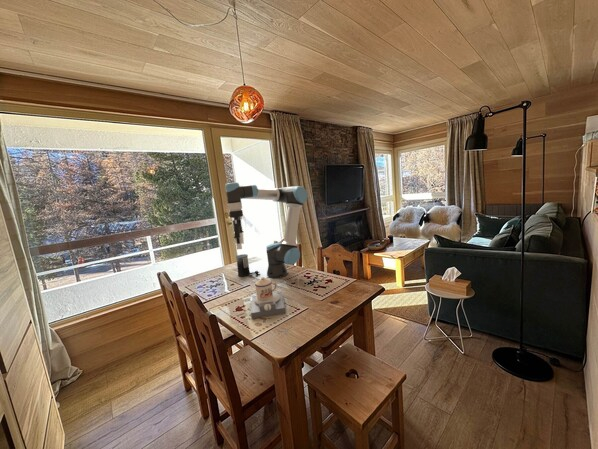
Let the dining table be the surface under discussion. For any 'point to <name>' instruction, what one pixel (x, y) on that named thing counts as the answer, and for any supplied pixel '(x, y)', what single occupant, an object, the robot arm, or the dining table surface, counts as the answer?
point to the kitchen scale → (268, 306)
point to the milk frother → (243, 265)
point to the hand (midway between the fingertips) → (240, 246)
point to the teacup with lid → (264, 289)
